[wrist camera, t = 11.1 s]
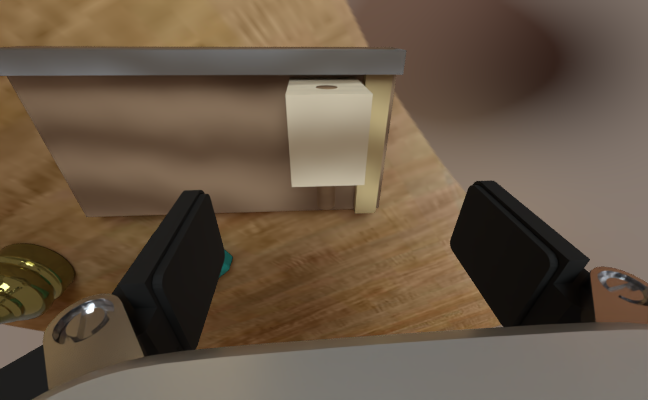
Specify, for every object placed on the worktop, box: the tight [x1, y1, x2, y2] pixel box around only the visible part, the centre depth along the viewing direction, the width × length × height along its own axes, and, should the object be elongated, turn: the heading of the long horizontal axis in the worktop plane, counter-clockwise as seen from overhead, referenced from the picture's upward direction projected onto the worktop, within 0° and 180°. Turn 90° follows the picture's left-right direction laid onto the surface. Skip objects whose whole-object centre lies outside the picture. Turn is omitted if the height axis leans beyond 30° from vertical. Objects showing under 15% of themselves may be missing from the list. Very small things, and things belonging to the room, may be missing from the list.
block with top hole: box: [285, 78, 373, 210], centre depth 20 cm, size 9×5×6 cm, turn 0°
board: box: [0, 46, 406, 217], centre depth 23 cm, size 14×28×4 cm, turn 90°
